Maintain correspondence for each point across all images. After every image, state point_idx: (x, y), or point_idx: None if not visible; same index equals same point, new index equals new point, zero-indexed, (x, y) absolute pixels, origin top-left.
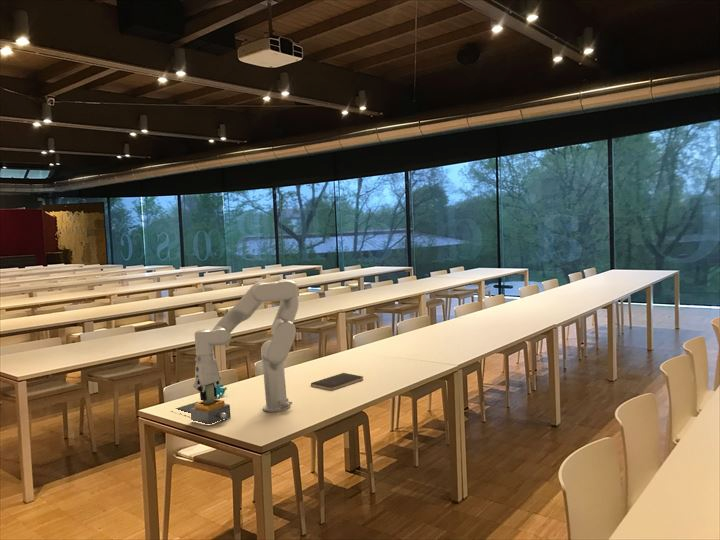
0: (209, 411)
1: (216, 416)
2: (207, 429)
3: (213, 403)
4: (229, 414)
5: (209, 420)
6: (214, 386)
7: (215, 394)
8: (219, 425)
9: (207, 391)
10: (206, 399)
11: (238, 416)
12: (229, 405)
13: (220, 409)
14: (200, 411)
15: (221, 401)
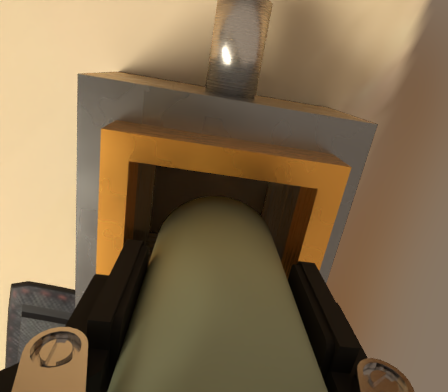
0: (343, 133)
1: (264, 100)
2: (390, 71)
3: (214, 201)
4: (121, 73)
5: (337, 111)
6: (87, 373)
7: (135, 261)
8: (296, 35)
9: (300, 334)
10: (294, 266)
11: (66, 21)
12: (84, 73)
13: (214, 95)
14: (340, 230)
15: (143, 139)
